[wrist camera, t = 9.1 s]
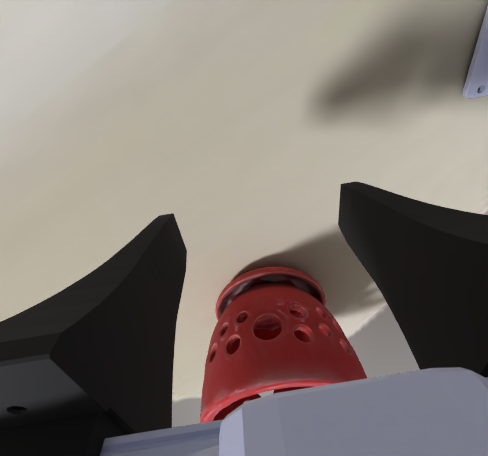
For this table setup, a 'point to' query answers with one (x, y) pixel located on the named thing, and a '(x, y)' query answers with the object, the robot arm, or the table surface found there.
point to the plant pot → (272, 341)
